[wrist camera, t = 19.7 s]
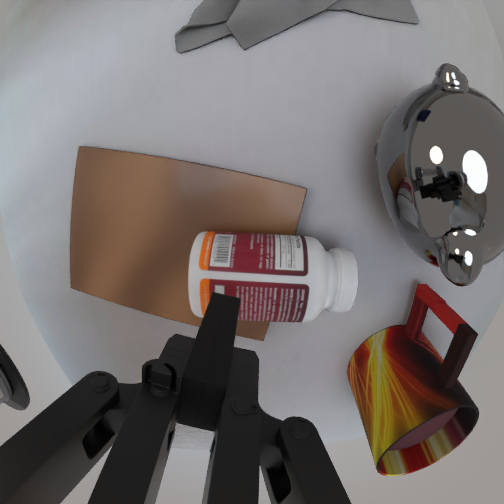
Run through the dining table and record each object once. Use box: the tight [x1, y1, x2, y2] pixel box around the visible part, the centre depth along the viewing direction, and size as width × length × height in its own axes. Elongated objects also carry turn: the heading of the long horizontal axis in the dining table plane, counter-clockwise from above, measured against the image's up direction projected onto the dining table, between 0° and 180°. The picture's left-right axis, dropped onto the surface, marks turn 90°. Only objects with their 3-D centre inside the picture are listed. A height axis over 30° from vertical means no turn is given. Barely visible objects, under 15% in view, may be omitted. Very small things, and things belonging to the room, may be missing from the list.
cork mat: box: [70, 146, 307, 341], centre depth 24 cm, size 20×14×1 cm
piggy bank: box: [374, 63, 504, 286], centre depth 16 cm, size 11×15×12 cm
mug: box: [347, 283, 479, 476], centre depth 21 cm, size 10×14×12 cm
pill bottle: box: [188, 231, 358, 322], centre depth 21 cm, size 6×6×11 cm
